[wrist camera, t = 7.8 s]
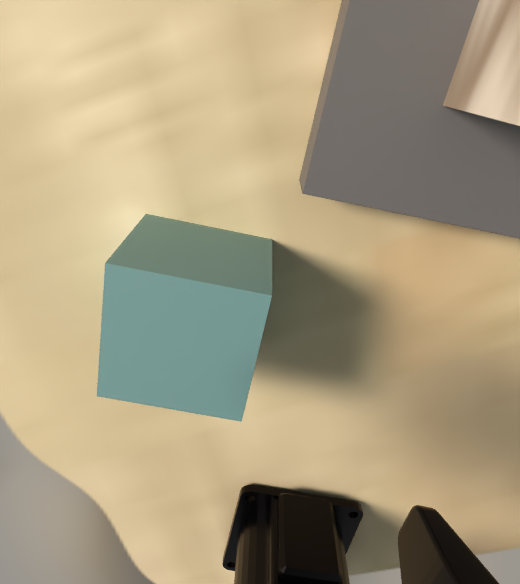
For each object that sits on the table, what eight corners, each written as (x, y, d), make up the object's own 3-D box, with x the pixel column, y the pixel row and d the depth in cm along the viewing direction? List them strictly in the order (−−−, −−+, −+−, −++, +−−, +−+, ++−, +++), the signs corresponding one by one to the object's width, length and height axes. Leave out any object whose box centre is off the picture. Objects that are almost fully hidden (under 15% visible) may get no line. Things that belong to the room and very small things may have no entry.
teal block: (248, 343, 21) (241, 421, 16) (135, 322, 20) (96, 396, 16) (272, 238, 19) (272, 295, 14) (146, 213, 18) (105, 262, 14)
